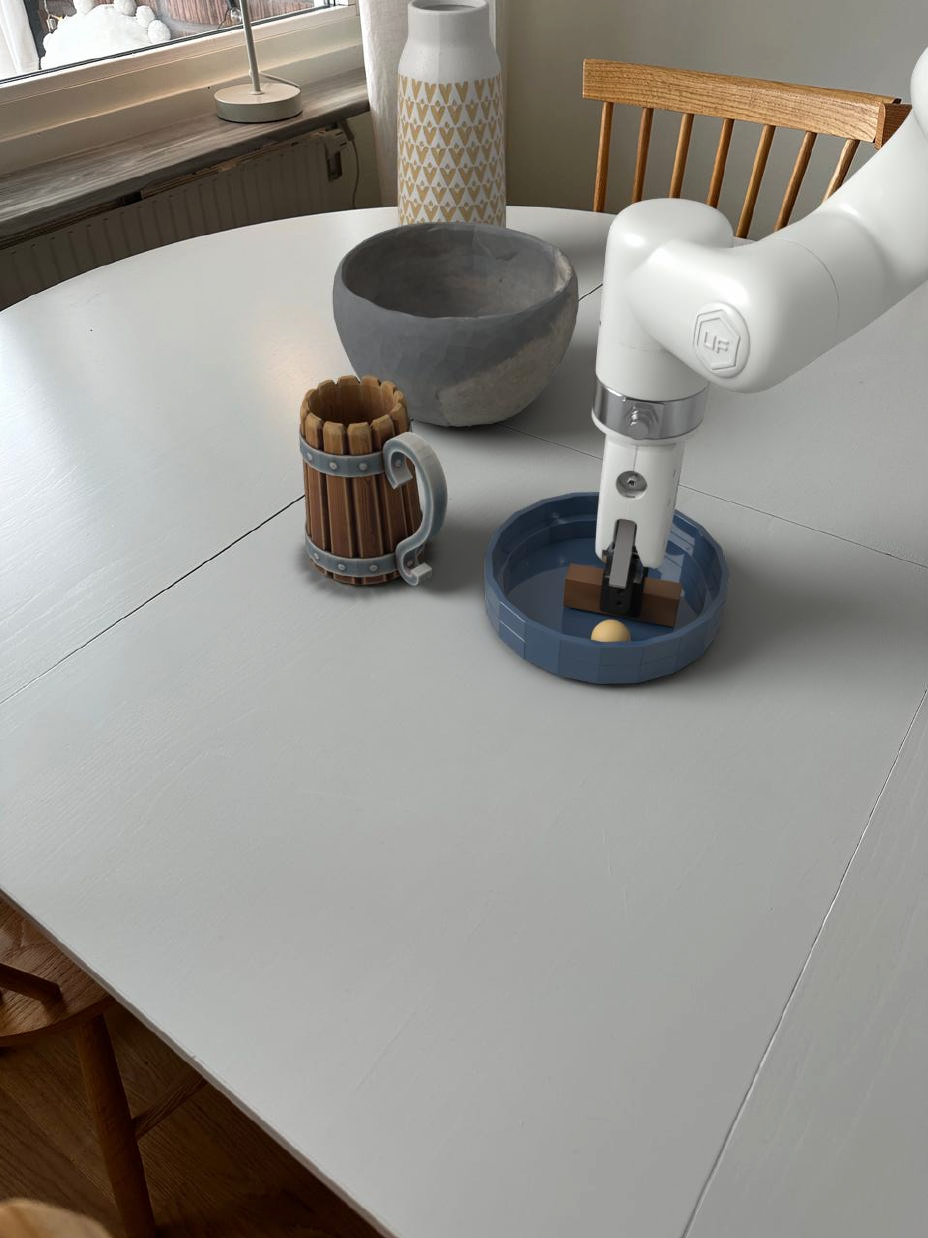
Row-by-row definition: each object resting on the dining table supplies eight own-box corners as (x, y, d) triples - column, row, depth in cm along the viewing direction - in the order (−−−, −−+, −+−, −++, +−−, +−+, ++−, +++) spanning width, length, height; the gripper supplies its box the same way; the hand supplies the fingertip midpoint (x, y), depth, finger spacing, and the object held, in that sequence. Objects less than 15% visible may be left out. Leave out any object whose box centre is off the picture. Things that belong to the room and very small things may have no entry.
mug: (283, 547, 87) (258, 397, 77) (377, 500, 92) (365, 353, 82) (393, 638, 78) (380, 482, 68) (490, 580, 83) (492, 427, 73)
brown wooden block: (677, 611, 79) (682, 583, 77) (674, 627, 77) (679, 599, 75) (567, 590, 81) (570, 562, 79) (562, 606, 79) (565, 578, 77)
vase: (394, 256, 133) (379, -8, 112) (493, 248, 135) (496, -14, 114) (408, 299, 123) (394, 19, 102) (515, 290, 125) (523, 12, 104)
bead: (616, 627, 77) (644, 642, 75) (592, 656, 77) (619, 672, 75) (602, 606, 75) (630, 621, 73) (577, 636, 75) (604, 651, 72)
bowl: (581, 463, 96) (593, 319, 86) (333, 466, 96) (315, 322, 86) (561, 344, 114) (569, 214, 104) (352, 347, 114) (340, 217, 104)
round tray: (730, 553, 85) (739, 512, 82) (705, 711, 72) (715, 669, 69) (517, 517, 90) (518, 476, 87) (456, 660, 76) (455, 618, 73)
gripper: (691, 470, 59) (654, 680, 72) (717, 350, 71) (681, 549, 83) (570, 452, 61) (555, 660, 74) (614, 337, 72) (594, 535, 85)
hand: (622, 600), depth 78 cm, fingers closed on brown wooden block, 2 cm apart
